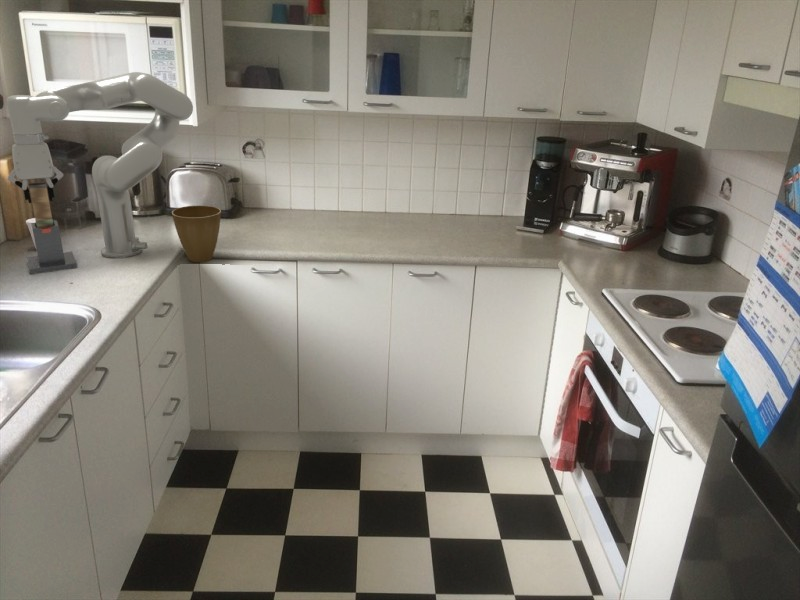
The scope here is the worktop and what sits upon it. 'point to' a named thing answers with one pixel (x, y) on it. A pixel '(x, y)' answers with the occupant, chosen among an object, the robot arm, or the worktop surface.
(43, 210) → the column
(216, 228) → the plant pot
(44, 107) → the robot arm
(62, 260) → the stand
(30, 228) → the smoothie
